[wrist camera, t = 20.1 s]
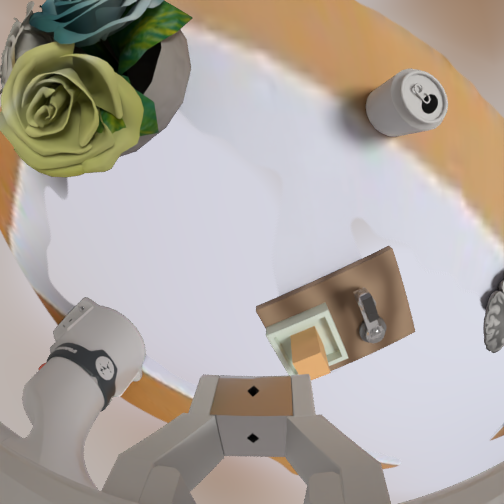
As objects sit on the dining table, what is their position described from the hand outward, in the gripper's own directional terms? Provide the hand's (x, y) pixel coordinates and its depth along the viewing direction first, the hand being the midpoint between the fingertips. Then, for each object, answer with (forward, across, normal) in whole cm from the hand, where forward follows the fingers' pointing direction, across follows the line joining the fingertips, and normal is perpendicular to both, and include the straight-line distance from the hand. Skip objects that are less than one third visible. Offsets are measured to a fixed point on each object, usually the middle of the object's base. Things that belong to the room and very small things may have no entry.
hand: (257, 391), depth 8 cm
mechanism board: (+34, -11, +17) cm, 40 cm away
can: (+34, -18, -14) cm, 41 cm away
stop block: (+32, -5, +20) cm, 38 cm away
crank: (+31, -14, +15) cm, 37 cm away
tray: (+33, -5, +20) cm, 38 cm away
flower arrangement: (+34, +18, -19) cm, 43 cm away
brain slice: (+35, -48, +18) cm, 62 cm away
